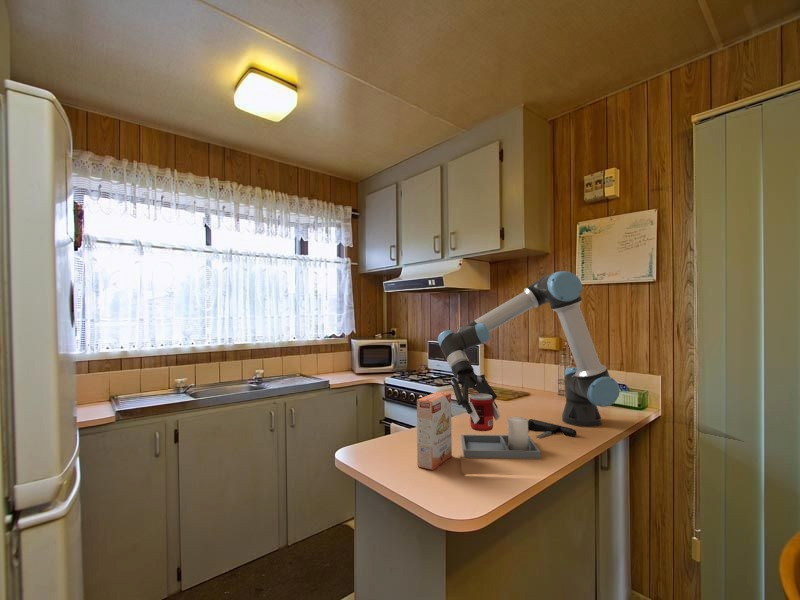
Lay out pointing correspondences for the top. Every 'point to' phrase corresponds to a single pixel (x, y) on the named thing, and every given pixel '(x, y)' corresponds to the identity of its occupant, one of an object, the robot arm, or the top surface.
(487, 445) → the caddy
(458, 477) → the top surface
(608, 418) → the top surface
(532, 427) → the toy submachine gun
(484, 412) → the canned food
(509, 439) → the ceramic jar
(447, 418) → the cracker box
